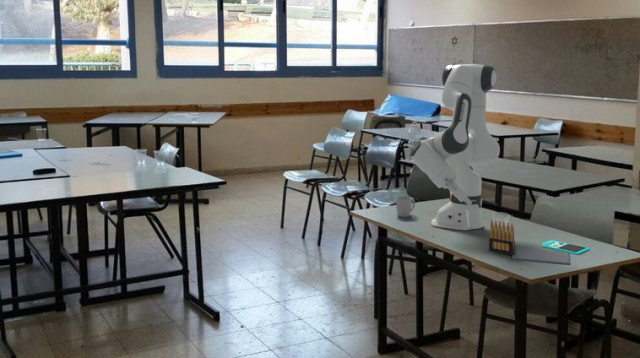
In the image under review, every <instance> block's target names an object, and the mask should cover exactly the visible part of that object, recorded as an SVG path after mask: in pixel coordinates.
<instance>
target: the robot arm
mask: <svg viewBox="0 0 640 358" xmlns="http://www.w3.org/2000/svg"><path fill="white" fill-rule="evenodd" d="M441 82H442V85H443V87H444V88H443V90H442V94H441V102H442V103H443V106H444V107H445V108H446V109H448V110H449V111H453V113H452V119H451V123H450V124H449V126H448V127H447V128H446V129H444V130H443V131H441V132H440V133H437V134H436V135H434V136H432V137H429V138H427V139H420V140H418V141H416V142H415V144H414V145H413V146H412V148H411V150H410V155H409V156H410V158H411V159H412V161H413V163H414V164H415V165H416V166H417V167H418V169H420V171H422V172H423V173H424V174H426V175H427V176H428V178H429V180H430V181H431V182H432V183H433V184H434V185H436V187H437V188H439V189H441V188H443V189H444V190H446V189H447V190H449V192H451V193H450V194H449V196H450V197H449V200H450V201H449V202H447V203H446V204H444V205H443V206H441V207H440V208H439V209H438V211H437V213H436V217H434V218H433V219H432V220H431V222H430V223H431V226H432V227H437V228H444V229H451V230H458V231H469V230H476V229H481V228H483V227H484V224H483V219H482V218H483V217H482V209H481V208H482V206H483V205H482V204H483V195H482V177H481V175H480V174H479V173H478V172H476V171H474V170H472V169H471V168H470V164H476V163H478V164H481V163H483V164H484V163H490V162H493V161H496V160H497V159H498V157H499V156H500V152H501V151H500V150H501V149H500V148H501V147H500V144H499V143H498V141H497V139H495V138H494V137H493V136H492V135H491V133H490V132H489V130H488V128H487V124H486V121H487V120H486V113H487V110H486V109H487V93H488V92H489V91H491V90H492V89H493V88H494V87H495V84H496V82H497V73H496V70H495V67H494V66H492V65H488V64H479V63H468V64H467V63H464V64H463V63H462V64H455V63H454V64H448V65H447V66H446V67H444V69H443V71H442V74H441ZM469 133H470V137H469Z"/></svg>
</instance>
